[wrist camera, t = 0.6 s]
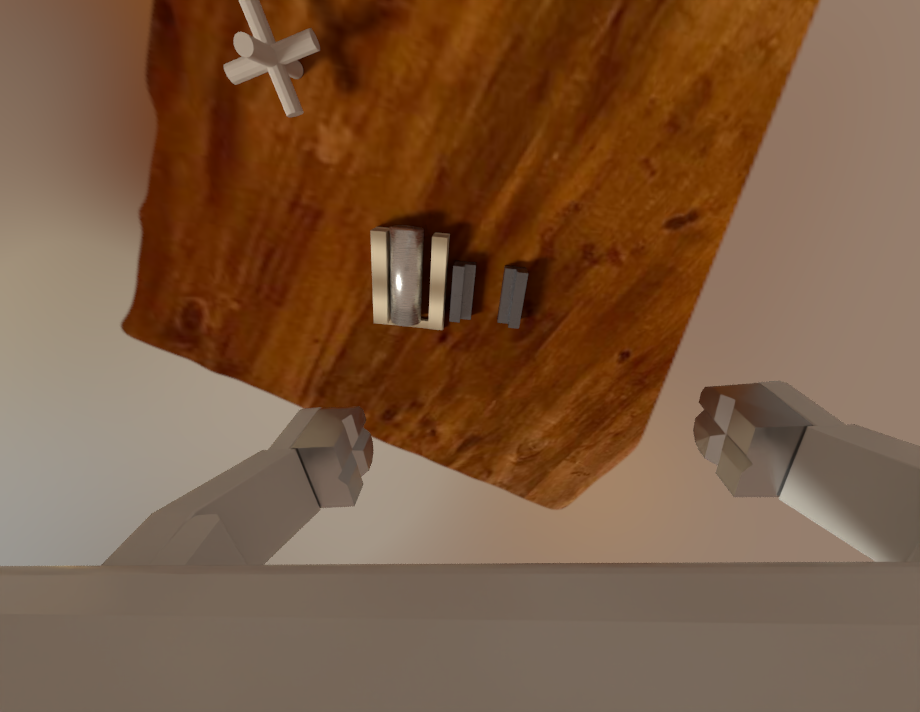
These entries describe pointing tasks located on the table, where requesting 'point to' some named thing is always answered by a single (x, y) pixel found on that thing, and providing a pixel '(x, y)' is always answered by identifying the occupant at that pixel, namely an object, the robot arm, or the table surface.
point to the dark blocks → (509, 297)
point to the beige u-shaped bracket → (382, 278)
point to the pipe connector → (270, 56)
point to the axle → (406, 274)
